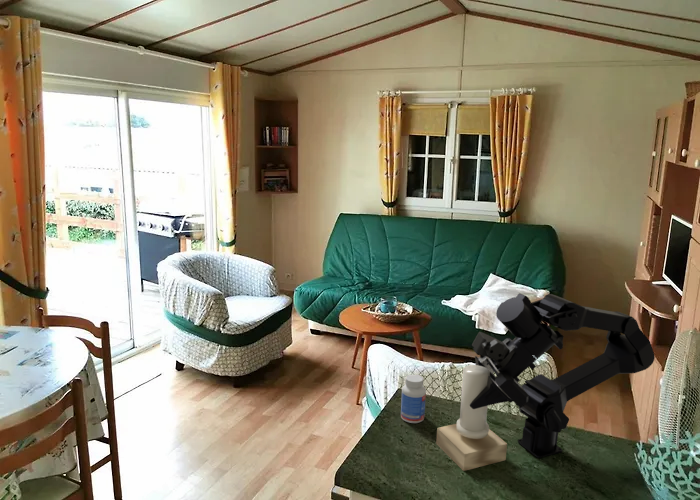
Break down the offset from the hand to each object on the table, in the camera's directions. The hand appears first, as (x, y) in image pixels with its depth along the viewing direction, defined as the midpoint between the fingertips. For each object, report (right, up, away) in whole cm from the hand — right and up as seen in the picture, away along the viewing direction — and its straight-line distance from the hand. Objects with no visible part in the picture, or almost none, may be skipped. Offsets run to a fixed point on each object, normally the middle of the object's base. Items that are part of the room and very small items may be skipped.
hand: (467, 400), depth 108 cm
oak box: (+1, -12, +3) cm, 12 cm away
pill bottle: (-9, -8, +15) cm, 20 cm away
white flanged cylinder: (+1, -6, +1) cm, 7 cm away
